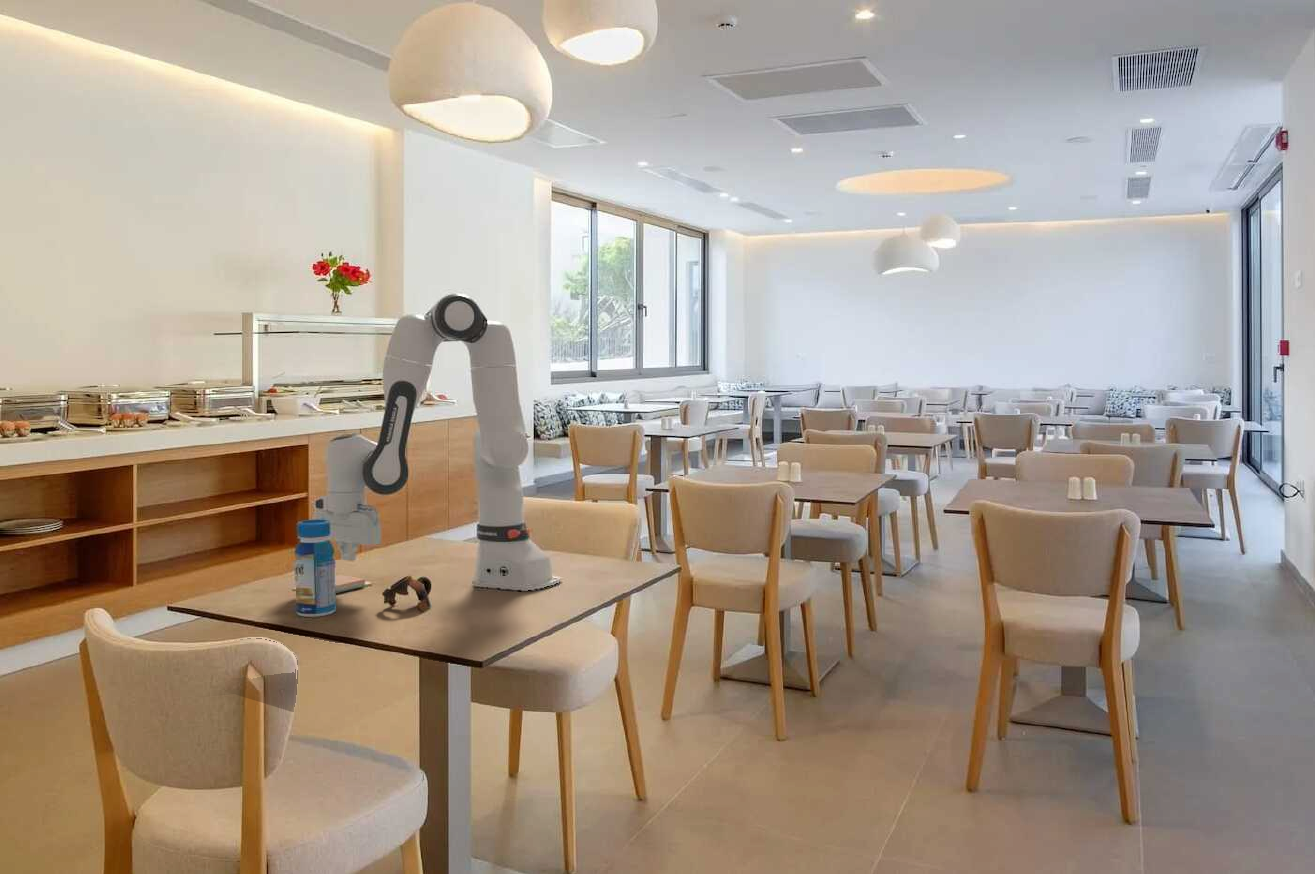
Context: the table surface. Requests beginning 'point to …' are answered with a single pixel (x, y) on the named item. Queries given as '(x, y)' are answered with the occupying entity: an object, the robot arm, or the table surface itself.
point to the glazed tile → (347, 583)
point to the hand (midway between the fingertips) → (348, 560)
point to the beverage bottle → (314, 569)
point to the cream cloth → (350, 589)
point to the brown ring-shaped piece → (402, 589)
